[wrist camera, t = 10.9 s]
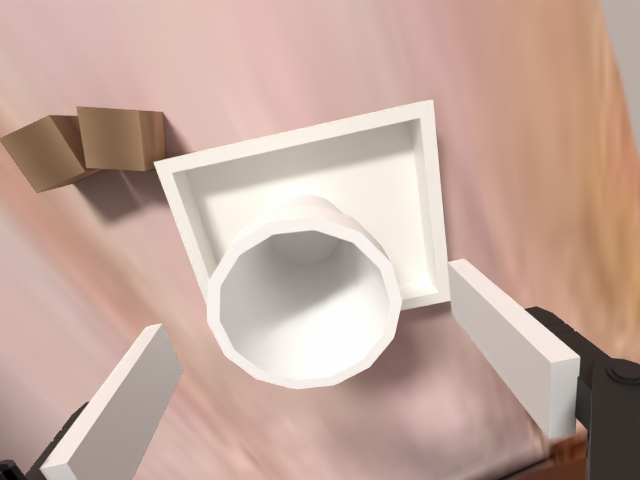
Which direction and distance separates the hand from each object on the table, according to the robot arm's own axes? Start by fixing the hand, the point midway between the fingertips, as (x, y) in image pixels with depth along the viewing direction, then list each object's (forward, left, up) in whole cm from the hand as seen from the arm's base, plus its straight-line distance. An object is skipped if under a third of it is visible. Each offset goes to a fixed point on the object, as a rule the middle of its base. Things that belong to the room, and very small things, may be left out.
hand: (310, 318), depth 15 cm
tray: (0, 0, -15) cm, 15 cm away
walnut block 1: (-17, +10, -15) cm, 25 cm away
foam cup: (0, 0, -14) cm, 14 cm away
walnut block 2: (-12, +10, -15) cm, 21 cm away
